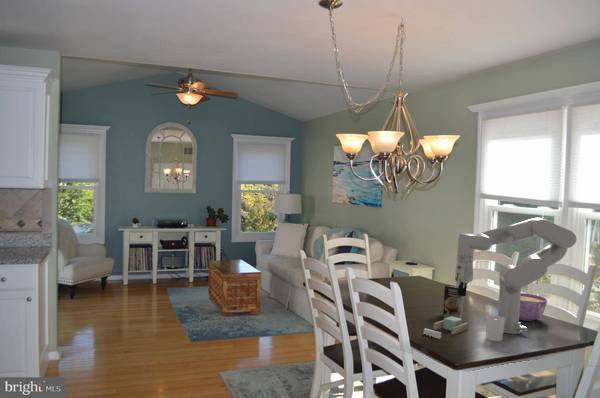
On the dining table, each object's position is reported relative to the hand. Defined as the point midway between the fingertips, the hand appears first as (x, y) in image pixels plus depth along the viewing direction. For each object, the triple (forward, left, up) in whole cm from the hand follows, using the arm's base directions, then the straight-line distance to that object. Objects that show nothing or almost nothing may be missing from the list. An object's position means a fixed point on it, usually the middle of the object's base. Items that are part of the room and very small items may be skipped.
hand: (462, 295), depth 246 cm
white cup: (-20, +7, -15) cm, 26 cm away
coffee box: (+11, -12, -15) cm, 22 cm away
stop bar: (0, +27, -15) cm, 31 cm away
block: (0, +8, -15) cm, 17 cm away
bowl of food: (-15, -41, -15) cm, 46 cm away
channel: (0, +10, -15) cm, 18 cm away
